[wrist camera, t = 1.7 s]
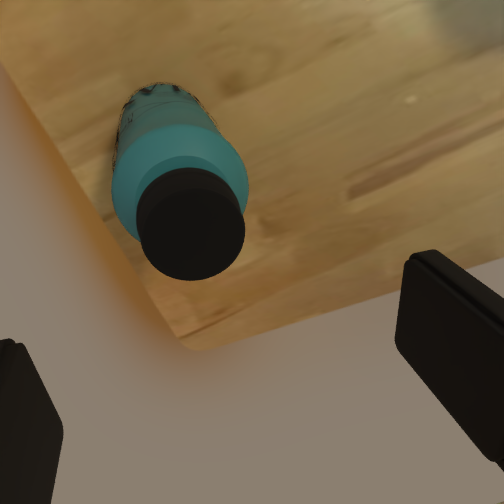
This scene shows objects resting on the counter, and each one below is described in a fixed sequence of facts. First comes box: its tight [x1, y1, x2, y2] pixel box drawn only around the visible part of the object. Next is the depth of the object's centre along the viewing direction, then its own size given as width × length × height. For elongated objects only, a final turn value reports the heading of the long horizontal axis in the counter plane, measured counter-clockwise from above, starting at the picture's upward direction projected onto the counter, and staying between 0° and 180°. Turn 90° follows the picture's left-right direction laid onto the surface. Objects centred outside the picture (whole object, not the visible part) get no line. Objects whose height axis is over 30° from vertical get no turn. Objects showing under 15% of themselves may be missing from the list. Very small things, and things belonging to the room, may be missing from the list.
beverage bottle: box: [111, 82, 249, 281], centre depth 23 cm, size 6×7×20 cm
